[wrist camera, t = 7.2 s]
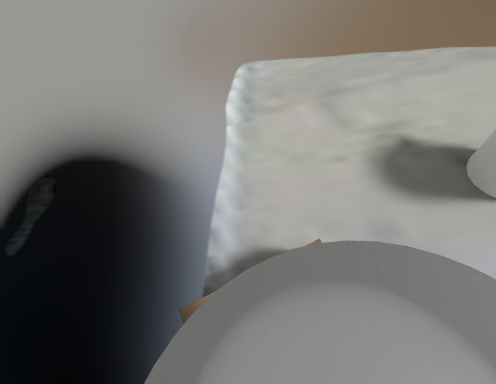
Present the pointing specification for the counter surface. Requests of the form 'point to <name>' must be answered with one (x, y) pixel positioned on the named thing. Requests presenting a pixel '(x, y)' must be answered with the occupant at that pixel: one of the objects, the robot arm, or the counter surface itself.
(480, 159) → the shot glass
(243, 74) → the counter surface
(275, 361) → the tea tin
